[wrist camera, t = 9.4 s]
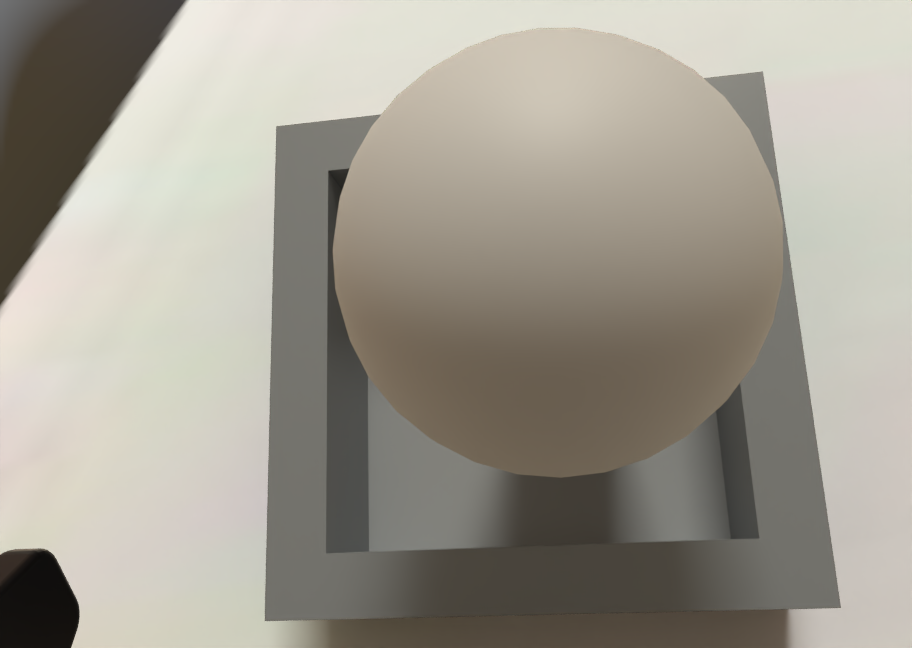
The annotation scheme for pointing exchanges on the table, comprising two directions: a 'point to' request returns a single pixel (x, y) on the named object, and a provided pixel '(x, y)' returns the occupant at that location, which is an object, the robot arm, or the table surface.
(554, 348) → the lightbulb
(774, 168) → the socket
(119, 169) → the table surface
